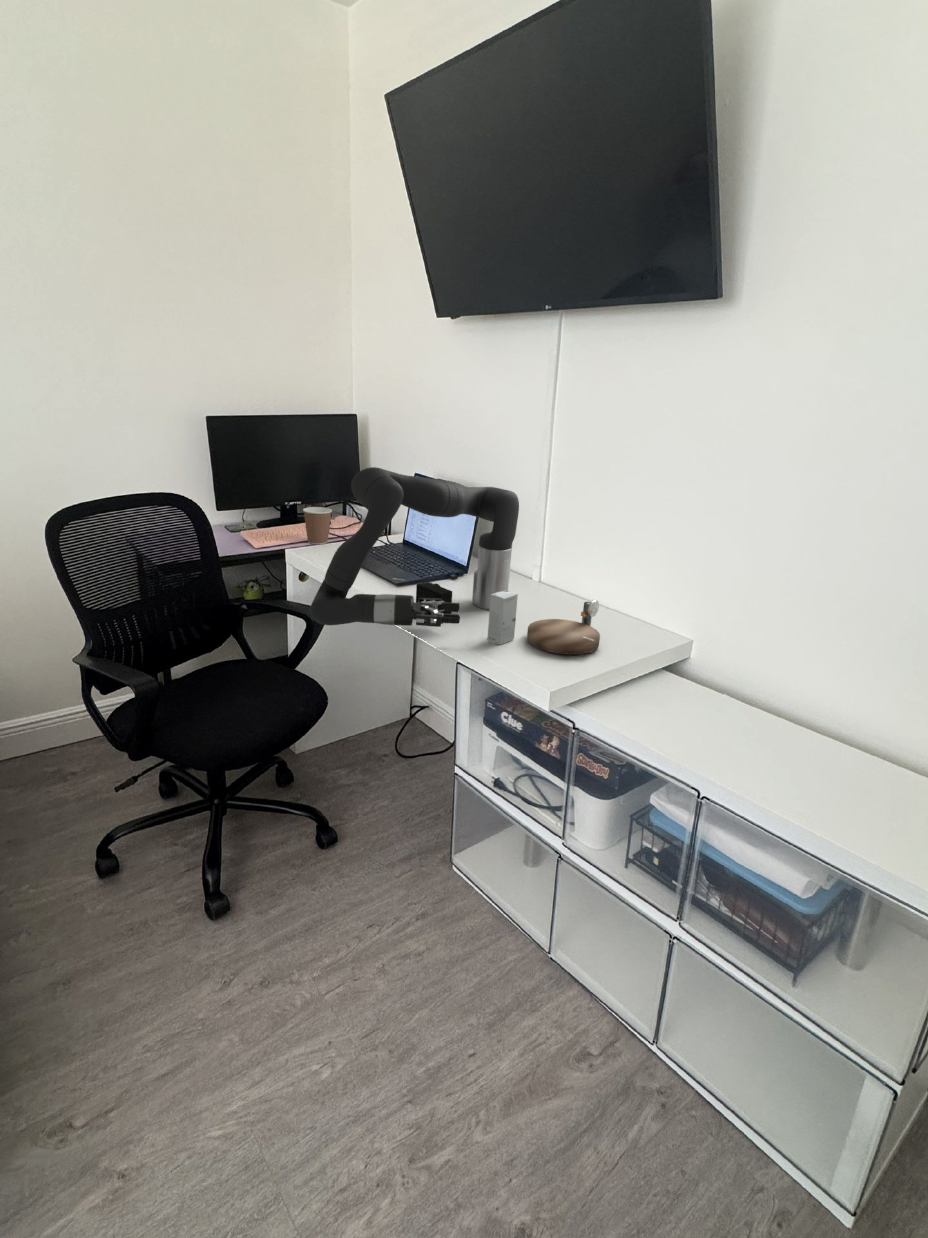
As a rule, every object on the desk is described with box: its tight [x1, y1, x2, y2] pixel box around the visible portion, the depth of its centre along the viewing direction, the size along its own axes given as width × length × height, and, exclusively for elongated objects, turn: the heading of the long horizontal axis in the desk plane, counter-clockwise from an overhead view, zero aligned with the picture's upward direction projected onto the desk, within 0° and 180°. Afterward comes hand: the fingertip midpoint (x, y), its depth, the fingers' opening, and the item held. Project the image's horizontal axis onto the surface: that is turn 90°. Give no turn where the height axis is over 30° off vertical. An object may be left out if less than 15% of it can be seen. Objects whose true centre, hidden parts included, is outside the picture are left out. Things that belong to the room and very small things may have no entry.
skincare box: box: [487, 590, 519, 646], centre depth 173 cm, size 6×4×12 cm
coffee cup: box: [302, 506, 333, 545], centre depth 255 cm, size 10×10×12 cm
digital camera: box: [415, 581, 453, 615], centre depth 192 cm, size 10×5×7 cm, turn 42°
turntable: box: [526, 618, 601, 655], centre depth 175 cm, size 18×18×2 cm
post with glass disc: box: [580, 599, 600, 627], centre depth 183 cm, size 5×3×9 cm, turn 141°
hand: (459, 613), depth 173 cm, fingers open, 8 cm apart
